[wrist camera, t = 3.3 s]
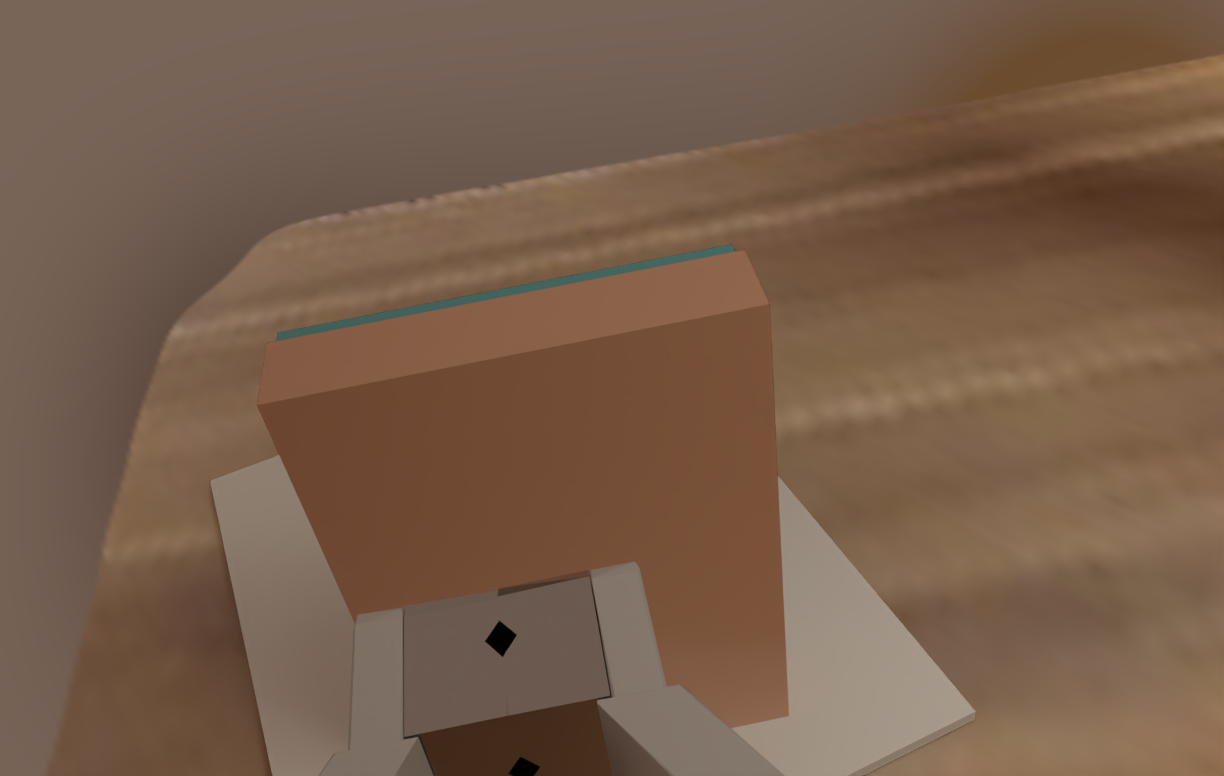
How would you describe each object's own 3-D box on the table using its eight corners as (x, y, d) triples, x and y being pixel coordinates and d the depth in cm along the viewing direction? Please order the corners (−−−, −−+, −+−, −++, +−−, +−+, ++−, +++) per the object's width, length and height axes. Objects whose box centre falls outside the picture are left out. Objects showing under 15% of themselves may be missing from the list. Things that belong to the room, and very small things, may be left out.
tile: (428, 719, 32) (267, 334, 23) (767, 648, 32) (741, 242, 23) (430, 791, 30) (257, 404, 21) (789, 716, 30) (769, 304, 21)
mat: (647, 326, 45) (646, 318, 45) (974, 719, 30) (975, 711, 30) (213, 488, 41) (210, 480, 41) (332, 1042, 26) (327, 1036, 25)
